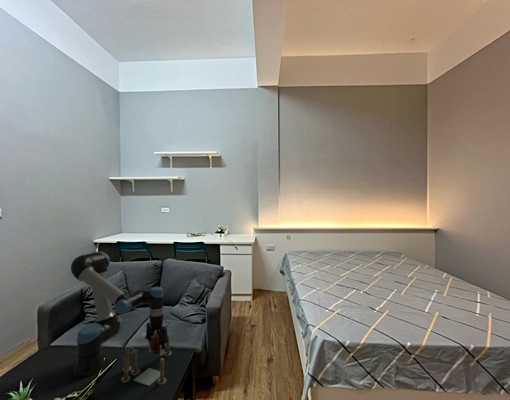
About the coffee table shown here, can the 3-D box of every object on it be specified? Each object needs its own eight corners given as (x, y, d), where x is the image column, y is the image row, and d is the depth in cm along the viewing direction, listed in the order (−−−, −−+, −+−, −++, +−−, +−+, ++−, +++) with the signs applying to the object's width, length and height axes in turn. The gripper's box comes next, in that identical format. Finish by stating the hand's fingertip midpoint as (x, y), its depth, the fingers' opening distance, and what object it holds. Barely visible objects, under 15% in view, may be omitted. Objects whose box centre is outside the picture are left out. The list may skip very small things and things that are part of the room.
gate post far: (162, 355, 167) (162, 336, 167) (167, 351, 171) (167, 332, 171) (168, 357, 165) (168, 337, 165) (173, 352, 170) (173, 334, 170)
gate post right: (155, 383, 141) (155, 360, 141) (161, 377, 146) (161, 355, 146) (162, 385, 139) (162, 362, 139) (168, 380, 144) (168, 357, 144)
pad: (133, 380, 143) (133, 379, 143) (149, 368, 153) (149, 367, 153) (149, 386, 139) (149, 385, 139) (164, 373, 149) (164, 372, 149)
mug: (156, 347, 165) (155, 330, 165) (169, 348, 163) (168, 331, 163) (144, 358, 153) (144, 340, 153) (158, 360, 151) (158, 341, 152)
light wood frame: (110, 377, 145) (110, 354, 145) (127, 366, 156) (127, 344, 156) (125, 383, 141) (125, 359, 141) (142, 371, 151) (142, 348, 151)
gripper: (138, 313, 159) (138, 352, 159) (165, 319, 151) (165, 360, 151) (148, 309, 166) (148, 346, 166) (174, 314, 158) (174, 353, 158)
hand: (156, 352), depth 158 cm, fingers closed on mug, 7 cm apart
